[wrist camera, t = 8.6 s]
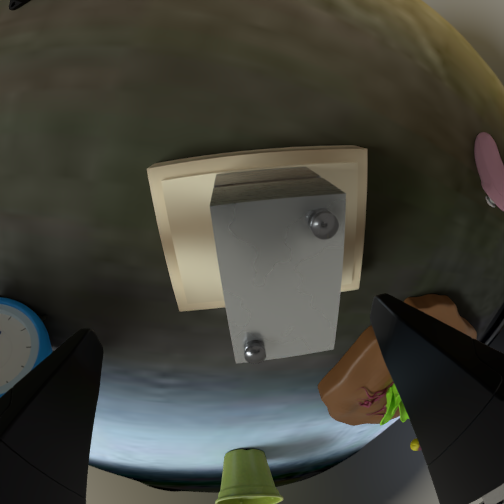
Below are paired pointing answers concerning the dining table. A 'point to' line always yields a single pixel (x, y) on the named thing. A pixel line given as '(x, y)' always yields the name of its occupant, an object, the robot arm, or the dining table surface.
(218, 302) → the beige tray
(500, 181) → the video game controller
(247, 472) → the plant pot
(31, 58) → the dining table surface
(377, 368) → the plant
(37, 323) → the alarm clock
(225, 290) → the box
